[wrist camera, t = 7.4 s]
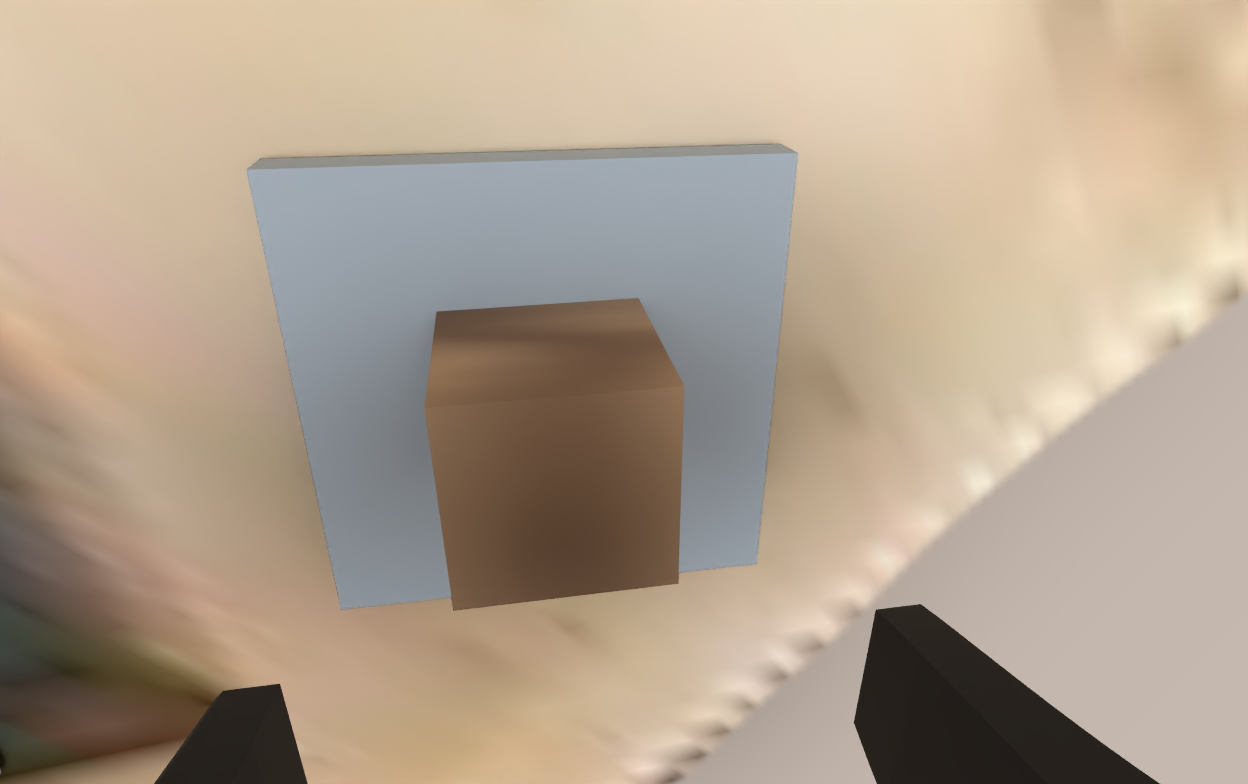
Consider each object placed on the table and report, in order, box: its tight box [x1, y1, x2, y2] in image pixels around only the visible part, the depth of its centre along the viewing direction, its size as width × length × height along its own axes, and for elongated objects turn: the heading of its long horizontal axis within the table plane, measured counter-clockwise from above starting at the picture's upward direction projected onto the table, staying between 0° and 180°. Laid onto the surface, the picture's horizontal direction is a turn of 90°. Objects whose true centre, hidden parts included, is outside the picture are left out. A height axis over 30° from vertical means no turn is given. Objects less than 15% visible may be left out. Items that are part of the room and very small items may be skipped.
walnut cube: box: [424, 298, 684, 611], centre depth 15 cm, size 4×4×4 cm
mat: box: [247, 144, 798, 610], centre depth 17 cm, size 10×10×1 cm
